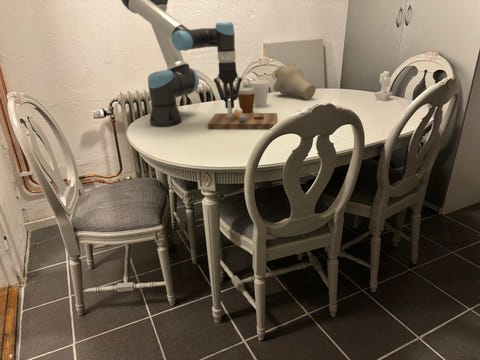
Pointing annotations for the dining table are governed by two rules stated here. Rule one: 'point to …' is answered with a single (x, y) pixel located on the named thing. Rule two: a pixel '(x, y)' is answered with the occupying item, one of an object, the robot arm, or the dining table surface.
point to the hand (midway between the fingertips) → (230, 115)
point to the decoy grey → (241, 118)
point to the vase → (293, 82)
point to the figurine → (384, 87)
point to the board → (250, 123)
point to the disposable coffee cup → (246, 99)
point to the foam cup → (260, 93)
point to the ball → (237, 114)
